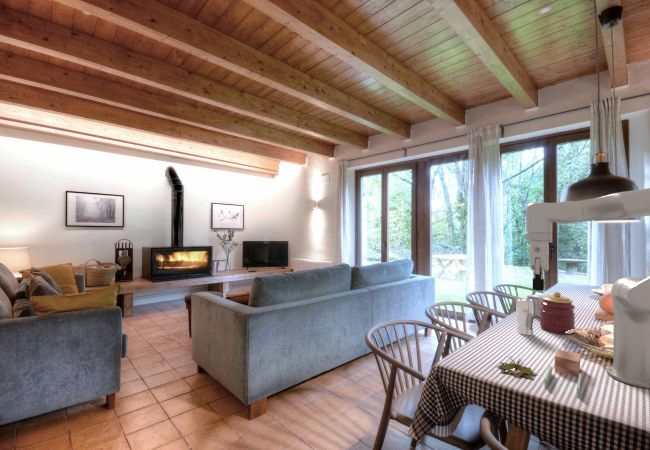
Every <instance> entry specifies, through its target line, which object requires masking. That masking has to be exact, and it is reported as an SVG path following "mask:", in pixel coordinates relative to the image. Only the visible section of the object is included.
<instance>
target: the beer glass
mask: <svg viewBox="0 0 650 450" xmlns="http://www.w3.org/2000/svg"><path fill="white" fill-rule="evenodd" d="M515 303H516V304H515V312H516V318H517V329H516V330H517V331H516V332H517V333H518V334H519V335H523V336H527V337H528V336H534V331H533V323H534V319H535V316H534V314H535V306H534V300H531V299H527V297H526V298H525V297H523V298H522V297H518V298H516V302H515Z"/></svg>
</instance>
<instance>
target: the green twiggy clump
mask: <svg viewBox="0 0 650 450" xmlns="http://www.w3.org/2000/svg"><path fill="white" fill-rule="evenodd" d="M508 359H510V361H509V363H507V362H501V361H500V365H497V367H498V368H502V369H501V371H500V374H505V373H504V372H505V371H506V370H509V373H508V374H510V375H511V374H512V375H513V376H515V378H516V379H518V378H520V376H521V377H526V378H528V379H531V380H534V377H533V375H537V376H538V374H537V373H536V372H534V371H533V370H531V369H532V368H531V367H527V366H525V363H522V361H523V360H522V359H521V358H518V360H514V358H513V357H512V356H511V355H510V357H509V356H508ZM521 363H522V364H521ZM504 364H505V365H504ZM523 365H524V366H523ZM497 367H496V368H497ZM513 368H515V370H510V369H513ZM518 370H519V371H518Z"/></svg>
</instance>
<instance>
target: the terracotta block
mask: <svg viewBox="0 0 650 450" xmlns="http://www.w3.org/2000/svg"><path fill="white" fill-rule="evenodd" d="M580 370H581V354H580V353H575V352H572V351H566V350H562V349H559V348H557V350H556V351H555V354H554V372H557V373H561V374H565V375H568V376H573V377H576V378H579V373H580Z"/></svg>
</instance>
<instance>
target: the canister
mask: <svg viewBox="0 0 650 450" xmlns="http://www.w3.org/2000/svg"><path fill="white" fill-rule="evenodd" d="M544 296H545V297H543V298H542V299H544V300H543V301H541V302H540V304H541V305H542V306H541V309H540V311H541V317H540V322H539V325H540V328H541V329H542V330H544V331H546V332H550V333H554V334H560V335H566V334H565V332H566V331H568V330H571V329H575V330H576V326H575V323H576V322H575V319H576V314H575V309H576V306H575V305H573V304H572V303H573V300H571V299H570V298H569V297H566V296H562V294H561V293H560V292H558V291H555V292H554V293H553V294H548V295H544Z"/></svg>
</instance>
